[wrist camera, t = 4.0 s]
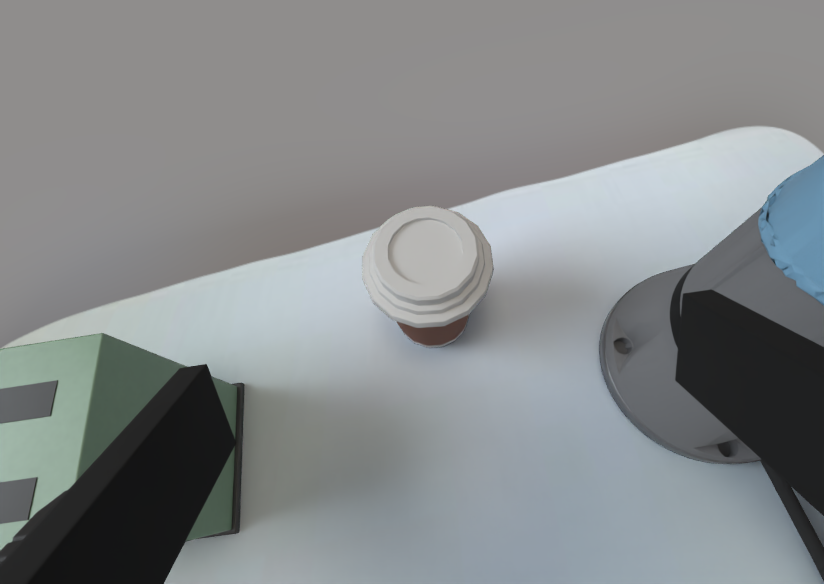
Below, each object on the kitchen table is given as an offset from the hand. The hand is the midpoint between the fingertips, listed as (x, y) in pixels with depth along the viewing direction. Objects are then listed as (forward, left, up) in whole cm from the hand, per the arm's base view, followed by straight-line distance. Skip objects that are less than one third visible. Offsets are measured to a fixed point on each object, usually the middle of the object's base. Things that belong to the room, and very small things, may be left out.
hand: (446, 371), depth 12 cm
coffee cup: (+9, -5, -24) cm, 27 cm away
